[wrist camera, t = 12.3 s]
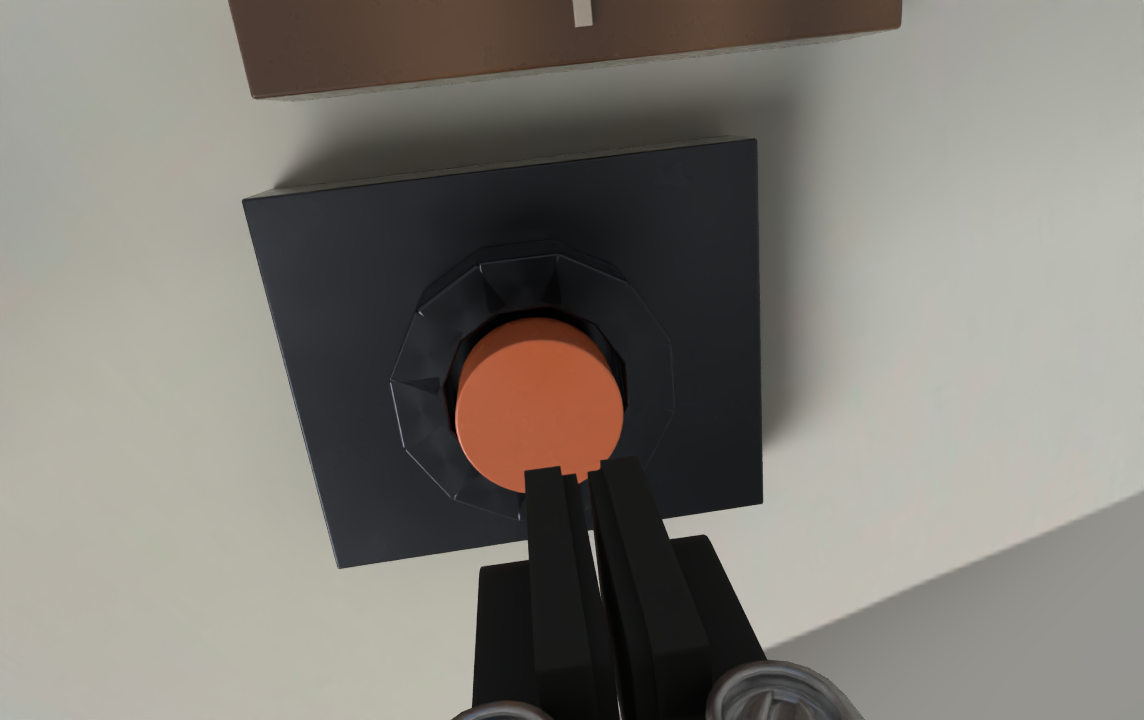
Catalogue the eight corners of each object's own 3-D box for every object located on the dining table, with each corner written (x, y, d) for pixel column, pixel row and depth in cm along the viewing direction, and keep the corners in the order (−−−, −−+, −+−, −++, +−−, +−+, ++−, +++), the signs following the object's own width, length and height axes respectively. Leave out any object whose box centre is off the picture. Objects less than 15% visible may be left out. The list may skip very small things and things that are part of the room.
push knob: (604, 306, 16) (617, 328, 15) (617, 446, 17) (630, 481, 16) (446, 327, 16) (441, 352, 14) (471, 468, 17) (469, 505, 16)
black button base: (728, 135, 19) (788, 140, 15) (738, 467, 22) (789, 540, 18) (269, 189, 18) (210, 209, 14) (352, 526, 21) (322, 614, 18)
